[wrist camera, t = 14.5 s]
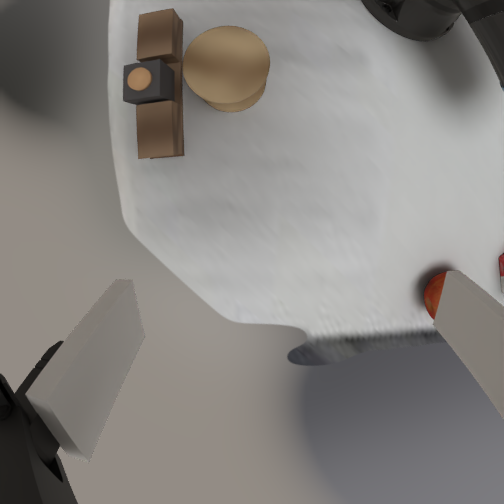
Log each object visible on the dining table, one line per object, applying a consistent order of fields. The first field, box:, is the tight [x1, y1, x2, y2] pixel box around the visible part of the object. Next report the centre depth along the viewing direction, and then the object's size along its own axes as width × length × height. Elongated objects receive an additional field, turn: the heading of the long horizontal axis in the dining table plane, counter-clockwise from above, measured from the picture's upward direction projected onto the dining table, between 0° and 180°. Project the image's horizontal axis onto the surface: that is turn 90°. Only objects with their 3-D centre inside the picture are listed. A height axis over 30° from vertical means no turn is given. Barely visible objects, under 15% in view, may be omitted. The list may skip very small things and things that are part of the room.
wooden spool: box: [182, 26, 270, 112], centre depth 28 cm, size 8×8×9 cm
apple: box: [424, 272, 465, 319], centre depth 37 cm, size 8×8×8 cm
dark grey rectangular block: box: [123, 59, 175, 105], centre depth 28 cm, size 4×4×7 cm
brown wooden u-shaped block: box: [136, 9, 184, 159], centre depth 29 cm, size 18×4×5 cm, turn 1°
